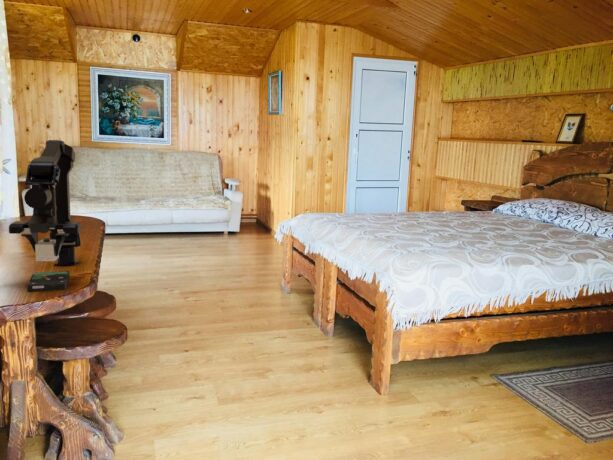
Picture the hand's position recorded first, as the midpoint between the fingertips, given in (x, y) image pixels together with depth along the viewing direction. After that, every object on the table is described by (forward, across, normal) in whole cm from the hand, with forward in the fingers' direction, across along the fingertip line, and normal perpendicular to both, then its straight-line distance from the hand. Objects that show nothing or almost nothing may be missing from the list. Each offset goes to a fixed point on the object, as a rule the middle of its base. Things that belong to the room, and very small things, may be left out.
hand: (47, 256), depth 161 cm
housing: (+1, 0, 0) cm, 1 cm away
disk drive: (+9, 0, 0) cm, 9 cm away
